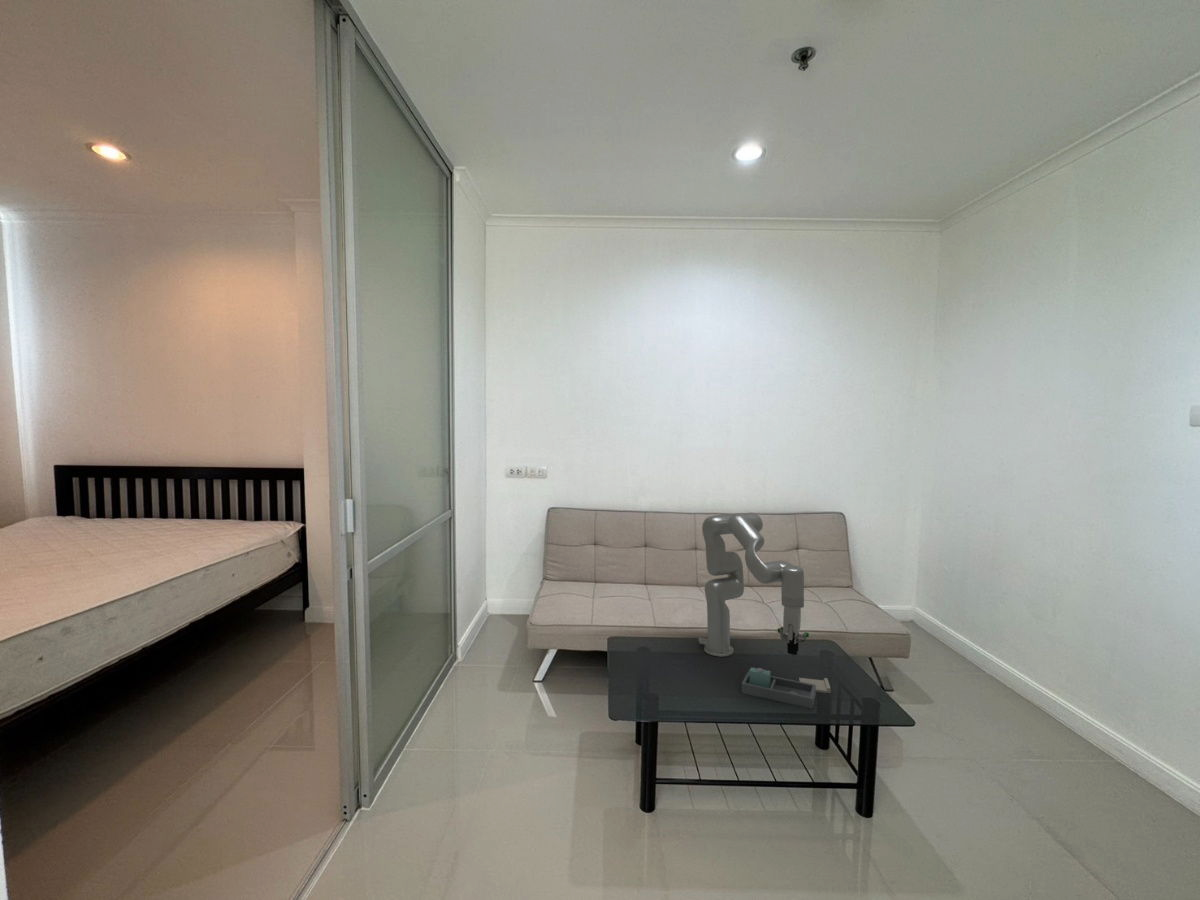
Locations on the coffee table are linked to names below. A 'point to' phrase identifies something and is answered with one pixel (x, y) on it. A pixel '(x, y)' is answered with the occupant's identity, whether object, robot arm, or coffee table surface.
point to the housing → (778, 688)
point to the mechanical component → (785, 637)
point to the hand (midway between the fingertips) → (793, 651)
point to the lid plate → (818, 684)
